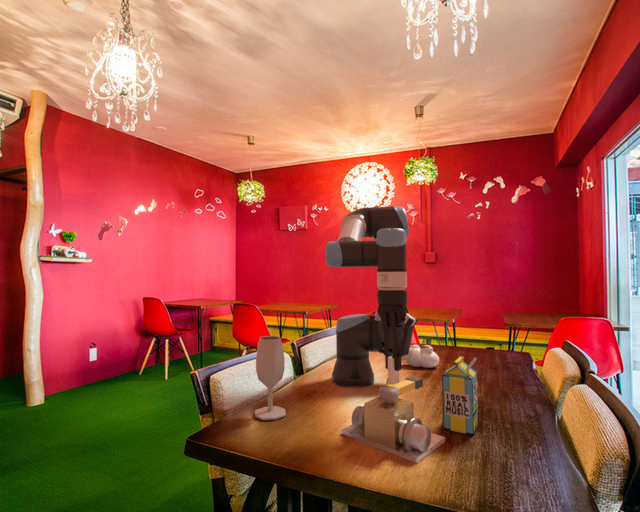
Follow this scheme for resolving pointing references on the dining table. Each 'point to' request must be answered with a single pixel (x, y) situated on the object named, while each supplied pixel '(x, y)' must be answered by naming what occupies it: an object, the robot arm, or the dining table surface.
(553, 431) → the dining table surface
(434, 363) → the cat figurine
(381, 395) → the lever
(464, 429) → the carton
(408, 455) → the valve body
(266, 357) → the wineglass
